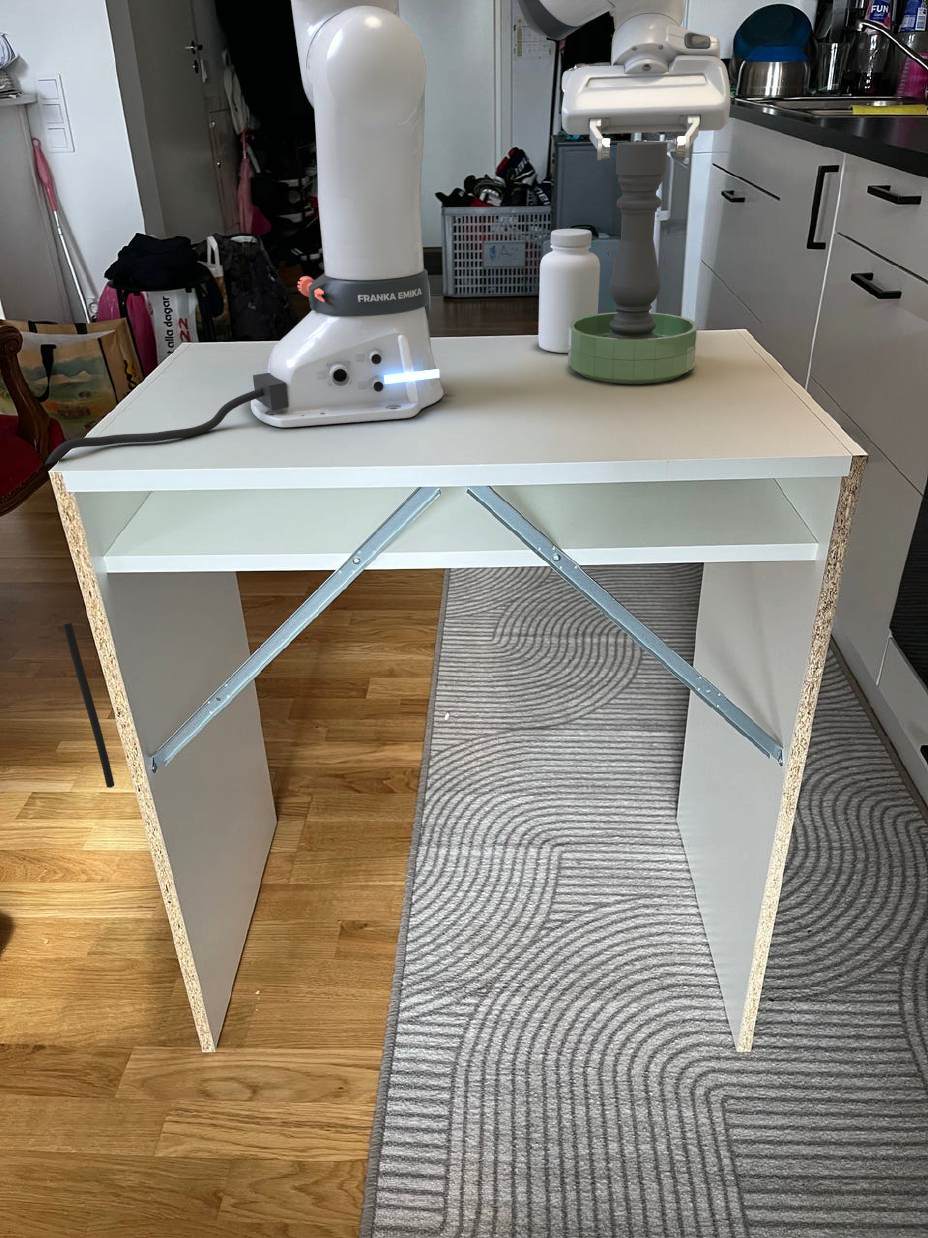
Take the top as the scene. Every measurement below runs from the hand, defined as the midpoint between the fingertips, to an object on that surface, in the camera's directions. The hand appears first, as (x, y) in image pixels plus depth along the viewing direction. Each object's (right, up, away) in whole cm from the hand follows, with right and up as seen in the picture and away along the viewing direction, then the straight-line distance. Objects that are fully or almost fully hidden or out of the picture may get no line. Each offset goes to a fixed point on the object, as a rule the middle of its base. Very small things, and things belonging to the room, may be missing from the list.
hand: (642, 155), depth 118 cm
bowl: (-1, -24, +6) cm, 25 cm away
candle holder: (-1, -24, +6) cm, 24 cm away
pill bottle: (-7, -19, +17) cm, 26 cm away
